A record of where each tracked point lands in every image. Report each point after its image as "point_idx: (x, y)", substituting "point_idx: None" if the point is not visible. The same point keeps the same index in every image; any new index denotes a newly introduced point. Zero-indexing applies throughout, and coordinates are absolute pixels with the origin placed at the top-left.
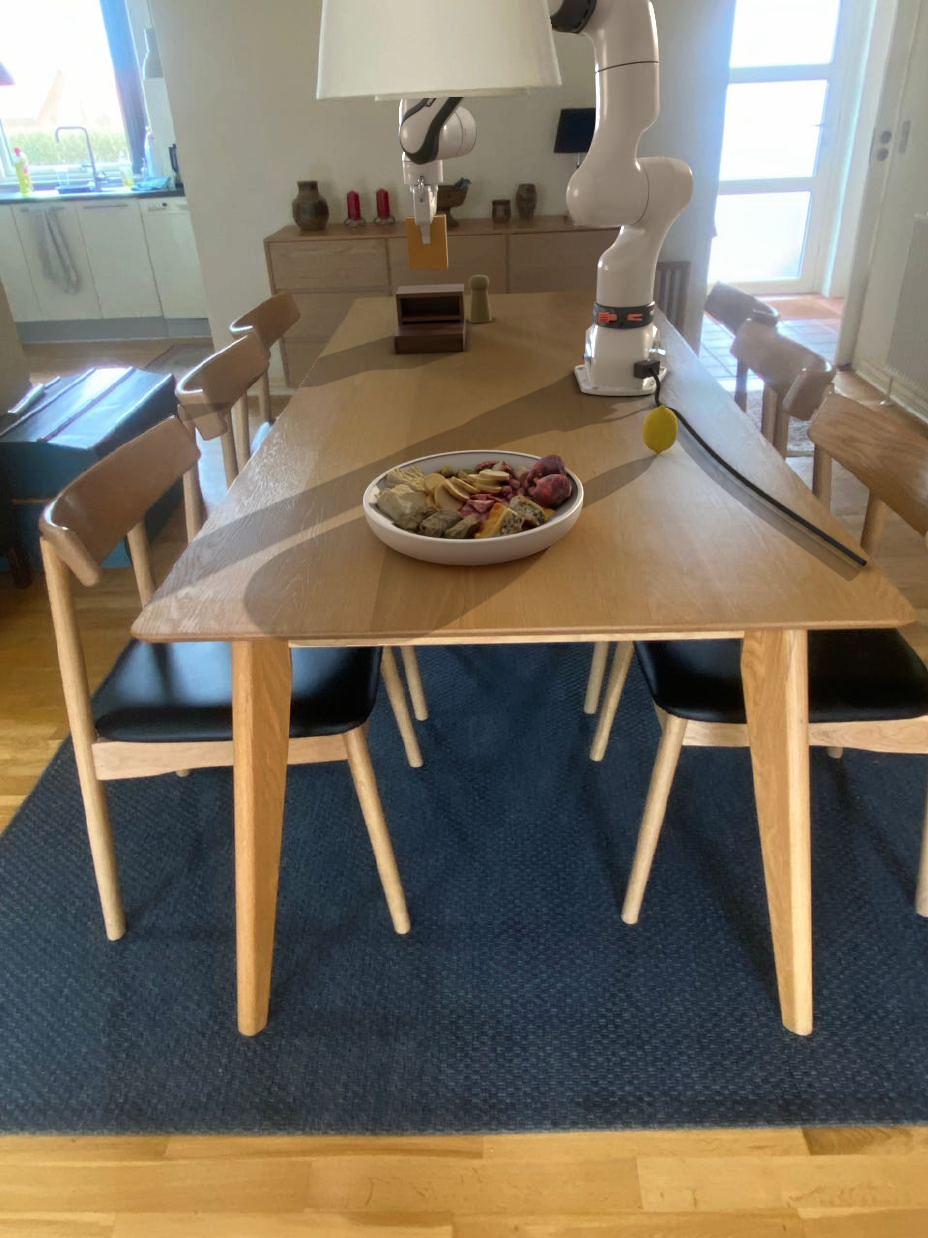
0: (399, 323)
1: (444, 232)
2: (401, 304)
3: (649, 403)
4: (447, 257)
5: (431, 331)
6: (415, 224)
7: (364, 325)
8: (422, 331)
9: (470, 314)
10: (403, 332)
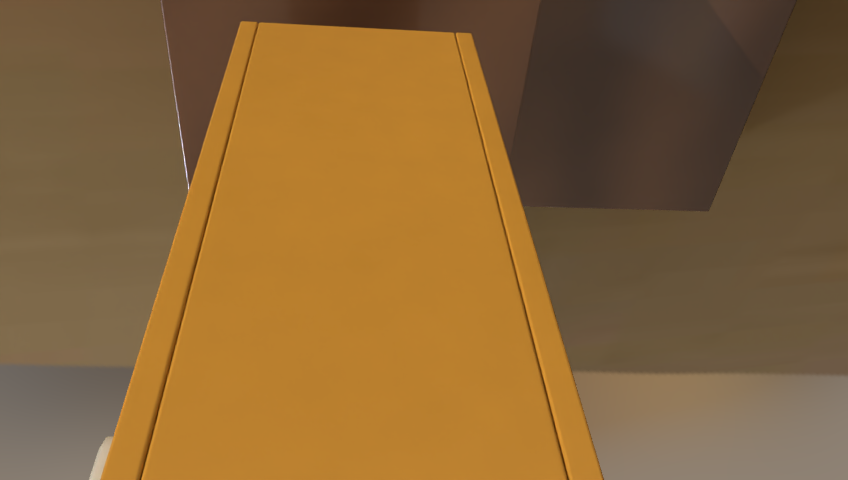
0: None
1: (573, 382)
2: None
3: None
4: (339, 75)
5: (708, 16)
6: None
7: (90, 317)
8: (680, 71)
9: None
10: (652, 171)
